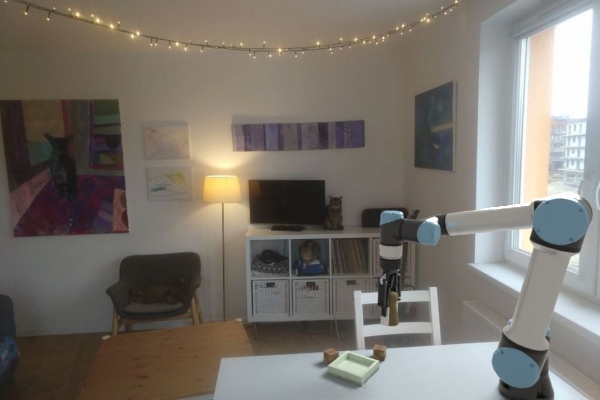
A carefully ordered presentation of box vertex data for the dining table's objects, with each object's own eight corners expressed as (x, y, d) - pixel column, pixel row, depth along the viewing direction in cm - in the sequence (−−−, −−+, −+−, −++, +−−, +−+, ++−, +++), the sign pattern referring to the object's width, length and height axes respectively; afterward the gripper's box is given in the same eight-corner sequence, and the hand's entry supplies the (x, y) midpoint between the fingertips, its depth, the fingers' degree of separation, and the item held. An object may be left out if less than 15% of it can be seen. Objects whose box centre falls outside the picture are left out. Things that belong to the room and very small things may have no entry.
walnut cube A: (386, 356, 151) (386, 346, 151) (384, 361, 147) (384, 350, 147) (375, 354, 153) (375, 344, 152) (373, 359, 149) (373, 349, 149)
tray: (379, 369, 142) (379, 360, 142) (361, 386, 132) (361, 377, 131) (347, 358, 150) (347, 350, 149) (328, 373, 139) (328, 365, 139)
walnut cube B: (338, 362, 147) (338, 352, 146) (330, 365, 145) (330, 355, 144) (332, 358, 150) (332, 348, 150) (323, 361, 148) (323, 350, 148)
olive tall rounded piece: (399, 326, 136) (399, 295, 135) (380, 325, 137) (381, 294, 136) (398, 319, 142) (399, 289, 141) (381, 318, 143) (381, 288, 142)
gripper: (392, 249, 147) (391, 310, 150) (367, 260, 132) (366, 328, 135) (412, 252, 142) (410, 315, 145) (388, 264, 127) (386, 334, 130)
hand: (389, 321), depth 140 cm, fingers closed on olive tall rounded piece, 6 cm apart
